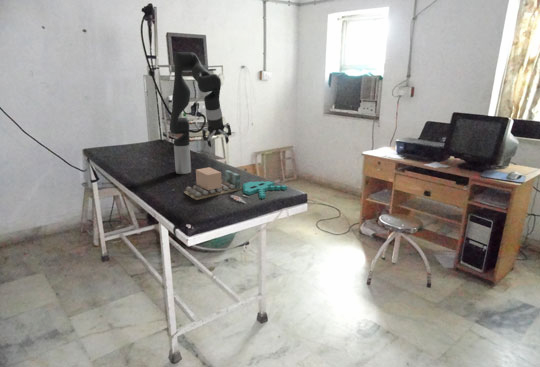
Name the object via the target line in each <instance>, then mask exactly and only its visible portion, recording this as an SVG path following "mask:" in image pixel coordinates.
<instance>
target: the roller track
mask: <svg viewBox="0 0 540 367" xmlns="http://www.w3.org/2000/svg"><path fill="white" fill-rule="evenodd" d="M221 180H222V187H221V188H216V189H212V190H207V189H205V188H203V187H201V186H199V185H197V184H195V185H193V186H192V187H191V186H186V187H185V190H184V191H183V192H184V194H186V195H187V196H189V197H190V198H192V199H194V200H196V201H199V200H203V199H207V198H212V197H215V196H220V195H224V194H228V193H233V192H236V191H240V190H243V187H241V174H239V173H237V172H234V171H231V170H228V169H225V170H224V180H223V179H221Z"/></svg>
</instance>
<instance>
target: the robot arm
mask: <svg viewBox="0 0 540 367" xmlns="http://www.w3.org/2000/svg"><path fill="white" fill-rule="evenodd" d="M183 72H191V76H192V78H193V79H194V80H195V81H196V82H197V88H198V90H199V91H200V93H208V92H209V93H208V94H206V95H205V96H204V98H203V101H204V106H205V107H204V108H205V116H206V122H207V128H206V127H205V128H204V127H202V128H201V133H202V139H203V141H206V142H207V145H208V147H209V148H212V143H211V142H212V140H211V139H212V138H213V136H214V137H215V136H217V135H219V136H221V134H222V135H223V136H224V140H225V143H226V145H227V144H229V142H230V140H229V137H230V136H232V135H233V134H232V129H231V126H230V123H229V122H227V123H226V124H224V120H223V112H222V107H221V103H220V96H221V87H222V82H221V81H222V80H221V78H220V76H219V75H218V74H217V73H213V74H212V73H211V74H210V72H209V71H208V70H207V69H206V68H204V66H203V64H202V63H201V61H200V59H199V57H198V56H197V54H196V53H195V52H191V51H178V52H176V53H175V55H174V76H173V77H174V82H173V91H172V103H171V104H172V105H171V107H172V108H171V115H170V120H169V130H170V132H171V134H173V135H181V136H179V137H177V138H175V139H174V140H173V151H174V165H175V166H174V168H175V173H176V174H179V175H186V174H190V173H191V172H192V162H191V151H190V150H191V149H190V148H191V147H190V146H191V145H190V121H189V119H188V118H187V117H180V115H181V114H182V112H184V110H186V108H187V107H188V106H189V103H190V99H191V90H190V87H189V85H188V84H187V82H185V79H184V77H183ZM225 129H226V130H227V132H226V131H225ZM207 134H208V135H207ZM206 135H207V136H206Z"/></svg>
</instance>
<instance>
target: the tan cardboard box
mask: <svg viewBox="0 0 540 367" xmlns="http://www.w3.org/2000/svg"><path fill="white" fill-rule="evenodd" d="M195 176H196V177H195V180H196V186H198V187H200V186H201V187H203V188H205V189H207V190H212V189H216V188H221V187H222V180H223V179H222V172H221V171H219V170H216V169H214V168H212V167H209V166H208V167H203V168H198V169H195Z"/></svg>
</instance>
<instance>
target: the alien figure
mask: <svg viewBox="0 0 540 367" xmlns="http://www.w3.org/2000/svg"><path fill="white" fill-rule="evenodd" d="M287 189H288V185H284V184H283V185H275V182H272V181H269V180H267V181H263V180H261V181H258V180H256V181H247V182H245V183H242V192H243V193H242V194H245V195H249V196H251V195H253V194H256V193H258V196H259V199H261V198H262V199H266V198H267V197H266V194H267V193H266V192H267V191H269V190H270V191H275V190H276V191H280V190H282V191H286V190H287ZM262 199H261V200H262Z"/></svg>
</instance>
